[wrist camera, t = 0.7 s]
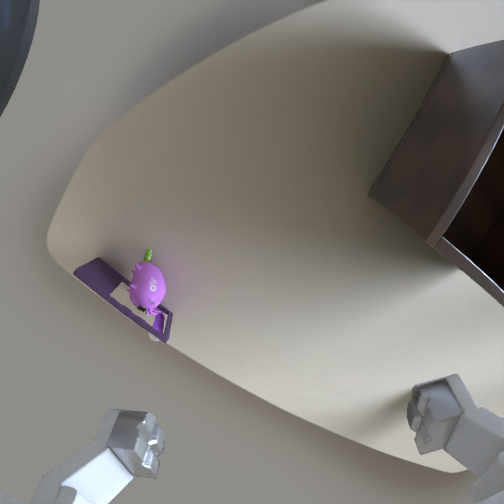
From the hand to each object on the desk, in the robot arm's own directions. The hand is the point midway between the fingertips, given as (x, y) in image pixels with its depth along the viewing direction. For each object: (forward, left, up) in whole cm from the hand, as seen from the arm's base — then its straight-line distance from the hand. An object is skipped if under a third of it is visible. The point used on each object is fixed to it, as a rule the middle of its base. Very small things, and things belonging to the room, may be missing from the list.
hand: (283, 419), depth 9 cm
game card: (-8, -10, -19) cm, 23 cm away
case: (+12, +14, -19) cm, 27 cm away
